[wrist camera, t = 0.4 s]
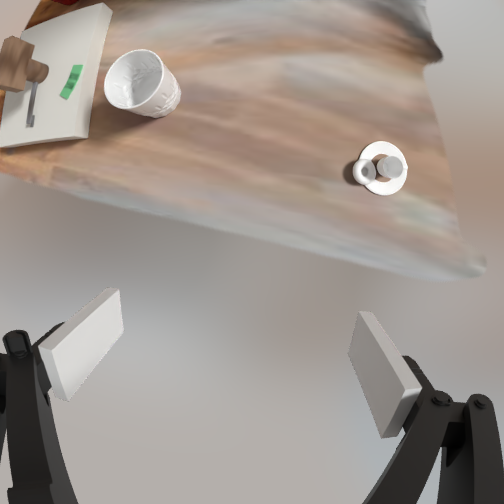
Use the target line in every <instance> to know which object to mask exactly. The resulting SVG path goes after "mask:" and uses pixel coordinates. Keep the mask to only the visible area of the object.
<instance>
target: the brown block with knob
mask: <svg viewBox="0 0 504 504" xmlns="http://www.w3.org/2000/svg"><path fill="white" fill-rule="evenodd" d="M34 47H35V45H33V44H31V43H28V42H26V41H24V40H21V39H19V38H16V37H14V36H11V37H9V38H7V39H5V40H4V43H3V46H2V49H1V53H0V89H1V90H6V91H10V92H15V93H18V92H21V91H24V88H25V84H26V81H29V82H33V85H32V90H31V95H30V101H29V107H28V113H27V120H26V124H31V122H32V115H33V108H34V102H35V96H36V91H37V86H38V84H40V83H42V82H43V81H44V80H45V79H46V77H47V75H48V73H49V67H48V65H46V64H44V63H41V62H38V61H36V60H33V59H31V58H32V55H33V51H34Z"/></svg>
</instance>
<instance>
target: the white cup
mask: <svg viewBox="0 0 504 504" xmlns="http://www.w3.org/2000/svg"><path fill="white" fill-rule="evenodd" d="M104 92H105V96H106V98H107V100H108V101H109V102H110V103H111V104H112V105H113V106H115V107H117V108H120V109H123V110H127V111H130V112H133V113H136V114H139V115H143V116H149V117H153V118H158V117H163V116H166V115H168V114H169V113H170V112H172V111H173V110H174V109H175V108H176V106H177V105H178V103H179V102H180V96H181V90H180V87H179V84H178V82H177V81H176V79H175V78H174V76H173V75H172V73H171V72H170V70H169V69H168V68H167V66H166V65H165V64H164V63H163V61H162V60H161V59H160V58H159V56H158V55H157V54H155V53H154V52H152V51H149V50H144V49H139V50H133V51H130V52H128V53H126V54H124V55H122V56H121V57H120V58H118V59H117V60H116V61H115V62H114V63H113V65H112V66H111V67H110V69H109V70H108V72H107V75H106V77H105V82H104Z"/></svg>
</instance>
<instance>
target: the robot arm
mask: <svg viewBox="0 0 504 504" xmlns="http://www.w3.org/2000/svg"><path fill="white" fill-rule="evenodd" d="M123 332H124V329H123V321H122V313H121V303H120V293H119V289H115V288H107V289H105V290H104V291H103V292H102V293H100V294H99V295H98V296H96V297H95V298H94V299H93V300H92V301H90V302H89V303H88V304H87V305H85V306H84V307H83V308H82V309H81V310H79V311H78V312H77V313H76V314H75V315H73V316H72V317H71V318H70V319H69V320H68V321H66V322H62V323H60V324H58V325H56V326H54V327H53V328H52V329H51V330H49V332H47V333H46V334H45V336H42V337H41V338H40V339H39V340H38V341H37V342H35V343H34V344H33V345H32V346H31V343H30V339H29V336H28V333H27V332H26V331H23V330H14V331H10V332H8V333H7V334H6V335H5V336H4V337H3V343H4V346H5V349H6V352H7V354H2V353H0V461H1V455H2V449H3V443H4V438H5V433H6V428H7V441H8V451H9V460H10V468H11V475H12V481H13V487H12V488H8V490H7V495H8V501H9V504H78V502H77V499H76V496H75V494H74V491H73V488H72V485H71V483H70V479H69V476H68V473H67V470H66V467H65V463H64V460H63V457H62V453H61V449H60V445H59V441H58V437H57V433H56V428H55V424H54V419H53V414H52V409H51V403H50V397H49V395H48V390H49V389H50V388H51V387H52V390H53V392H54V395H55V397H57V398H59V399H62V400H65V401H67V402H69V400H70V399H71V398H72V396H73V395H74V394H75V392H76V391H77V390H78V389H79V387H80V386H81V385H82V383H83V382H84V381H85V380H86V378H87V377H88V376H89V374H90V373H91V372H92V371H93V369H94V368H95V367H96V366H97V364H98V363H99V362H100V360H101V359H102V358H103V357H104V355H105V354H106V353H107V352H108V351H109V349H110V348H111V347H112V346H113V344H114V343H115V342H116V340H117V339H118V338H119V337H120V336H121V335H122V333H123ZM348 355H349V357H350V360H351V362H352V365H353V367H354V370H355V372H356V374H357V377H358V379H359V382H360V384H361V387H362V389H363V392H364V394H365V397H366V400H367V402H368V405H369V407H370V410H371V413H372V415H373V418H374V420H375V423H376V426H377V428H378V431H379V434H380V436H381V438H389V437H396V436H397V435H398V434H399V432H400V430H401V429H402V427H403V428H404V431H405V435H404V437H403V438H402V440H401V442H400V443H399V445H398V447H397V448H396V451H395V453H394V455H393V457H392V459H391V460H390V462H389V463H388V465H387V467H386V468H385V470H384V472H383V473H382V475H381V476H380V478H379V480H378V481H377V483H376V484H375V486H374V487H373V489H372V490H371V492H370V493H369V495H368V496H367V498H366V499H365V500H364V502H363V503H362V504H416V503H417V501H418V499H419V497H420V495H421V493H422V491H423V488H424V486H425V484H426V482H427V480H428V477H429V475H430V472H431V470H432V468H433V465H434V463H435V460H436V457H437V455H438V452H439V449H440V447H442V456H441V471H440V482H439V491H438V499H437V504H504V468H503V459H502V451H501V444H500V438H499V432H498V427H497V421H496V416H495V412H494V407H493V404H492V401H491V400H490V399H489V398H488V397H487V396H485V395H482V394H473V395H471V396H470V397H469V399H468V401H467V402H466V403H460V402H453V400H452V398H451V397H450V396H449V395H448V394H447V393H445V392H443V391H438V390H435V389H434V388H433V386H432V385H431V383H430V382H429V380H428V379H427V377H426V376H425V375H424V374H423V372H422V370H421V369H420V367H419V366H418V364H417V363H416V361H414V360H413V359H412V358H410V357H409V356H401V354H400V353H399V351H398V350H397V348H396V347H395V345H394V344H393V342H392V341H391V339H390V338H389V336H388V335H387V333H386V332H385V331H384V329H383V328H382V326H381V325H380V323H379V322H378V320H377V319H376V318H375V316H374V315H373V313H372V312H364V311H359V312H358V316H357V321H356V325H355V329H354V333H353V337H352V341H351V344H350V348H349V352H348Z"/></svg>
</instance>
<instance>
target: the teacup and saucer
mask: <svg viewBox="0 0 504 504" xmlns="http://www.w3.org/2000/svg"><path fill="white" fill-rule="evenodd" d="M378 154H386V155H388V157H385V158H382V159H381V160H379V162H378V163H377V170H378V172H379V173H380V174H381V175H382V176H384V177H387V178H392V179H391V180H390V181H389V182H385V183H382V182H379V181H377V180H375V177H376V169H375V166H374V164H373V163H372V162H371V160H372V158H373V157H374V156H376V155H378ZM407 169H408V166H407V165H406V161H405V158H404V156H403V154H402V153H401V151H400V150H399V149H398V148H397V147H396V146H394V145H393V144H391V143H388V142H384V141H378V142H374V143H371V144H370V145H368V146H367V147H366V148H365V149H364V150H363V152H362V153H361V155H360V158H359V160H358V161H357V162H356V163H355V164H354V166H353V176H354V178H355V180H356V181H357V182H358V183H360V184H362V185H365V186H366V187H367V188H368V189H369V190H370V191H372V192H373V193H375V194H378V195H391V194H393V193H395V192H397V191H398V190H399V189H400V188H401V187H402V186H403V184H404V182H405V179H406V176H407Z"/></svg>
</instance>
